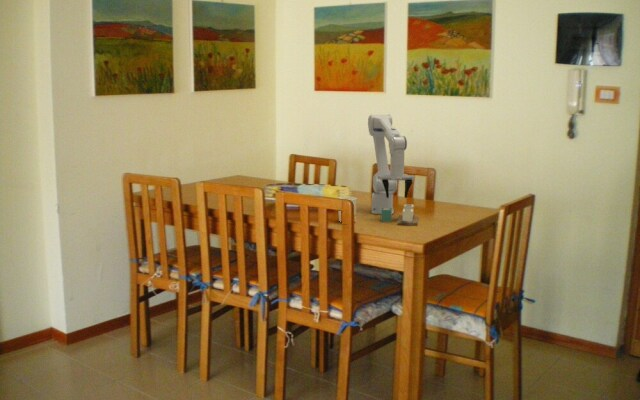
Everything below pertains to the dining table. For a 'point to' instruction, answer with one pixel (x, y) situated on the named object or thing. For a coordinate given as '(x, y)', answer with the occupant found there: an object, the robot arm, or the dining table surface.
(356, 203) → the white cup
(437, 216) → the dining table surface
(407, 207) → the mounted module
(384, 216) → the block
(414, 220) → the mounting board
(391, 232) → the dining table surface
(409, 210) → the block
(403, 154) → the robot arm
